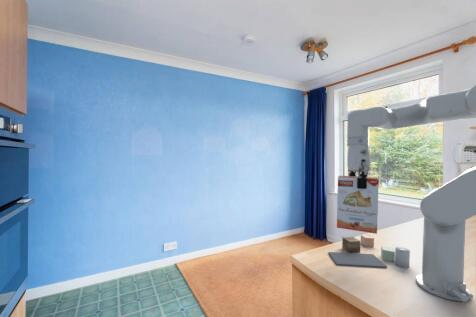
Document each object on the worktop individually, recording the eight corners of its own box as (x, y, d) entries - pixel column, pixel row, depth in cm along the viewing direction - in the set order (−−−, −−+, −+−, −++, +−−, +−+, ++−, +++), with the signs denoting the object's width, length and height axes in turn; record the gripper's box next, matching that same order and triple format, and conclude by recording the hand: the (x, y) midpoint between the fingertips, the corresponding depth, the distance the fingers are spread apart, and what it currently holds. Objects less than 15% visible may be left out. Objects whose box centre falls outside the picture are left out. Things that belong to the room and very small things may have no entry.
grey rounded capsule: (412, 268, 82) (412, 252, 81) (399, 267, 82) (399, 251, 82) (404, 262, 86) (405, 247, 86) (392, 261, 87) (393, 246, 86)
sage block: (394, 262, 86) (394, 251, 86) (382, 259, 88) (382, 249, 88) (392, 257, 90) (392, 248, 90) (381, 255, 92) (381, 246, 92)
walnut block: (360, 252, 95) (360, 241, 95) (349, 253, 94) (349, 241, 94) (352, 247, 100) (352, 236, 100) (342, 248, 99) (342, 237, 99)
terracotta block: (373, 246, 101) (374, 238, 100) (364, 246, 101) (364, 237, 101) (369, 243, 105) (369, 235, 104) (360, 242, 105) (360, 234, 105)
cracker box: (336, 228, 88) (337, 176, 87) (337, 224, 93) (338, 175, 93) (377, 234, 81) (378, 178, 81) (376, 229, 87) (377, 176, 86)
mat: (386, 267, 82) (386, 266, 82) (336, 265, 83) (336, 263, 83) (373, 255, 92) (373, 254, 92) (328, 253, 93) (328, 251, 93)
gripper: (379, 141, 78) (378, 190, 78) (357, 143, 95) (357, 184, 95) (357, 141, 78) (356, 190, 79) (339, 143, 96) (339, 183, 96)
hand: (357, 186), depth 87 cm, fingers closed on cracker box, 7 cm apart
